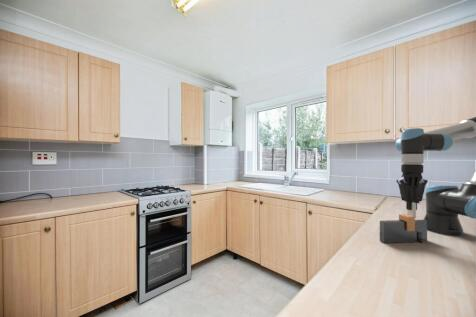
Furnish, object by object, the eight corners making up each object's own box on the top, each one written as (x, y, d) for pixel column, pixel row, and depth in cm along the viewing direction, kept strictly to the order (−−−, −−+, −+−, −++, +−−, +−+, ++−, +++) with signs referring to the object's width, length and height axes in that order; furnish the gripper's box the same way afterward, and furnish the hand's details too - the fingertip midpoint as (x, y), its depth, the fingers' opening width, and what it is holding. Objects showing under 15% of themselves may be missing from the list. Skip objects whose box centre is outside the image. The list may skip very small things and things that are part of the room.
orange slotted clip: (405, 227, 95) (405, 214, 95) (414, 231, 90) (414, 217, 90) (398, 227, 94) (398, 214, 94) (407, 231, 90) (407, 217, 90)
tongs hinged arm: (414, 240, 92) (414, 220, 92) (416, 241, 91) (416, 221, 91) (381, 241, 91) (381, 221, 91) (384, 242, 90) (384, 222, 90)
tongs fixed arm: (424, 239, 94) (424, 219, 94) (431, 242, 91) (431, 221, 91) (379, 240, 93) (379, 220, 93) (385, 243, 89) (385, 222, 89)
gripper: (417, 163, 97) (417, 214, 97) (391, 163, 96) (390, 215, 96) (434, 164, 89) (433, 219, 89) (405, 164, 88) (405, 220, 88)
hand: (411, 217), depth 92 cm, fingers closed
